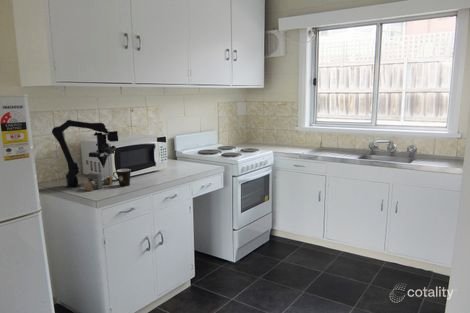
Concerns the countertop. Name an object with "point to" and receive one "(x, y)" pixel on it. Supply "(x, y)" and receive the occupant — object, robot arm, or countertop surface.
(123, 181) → the coffee mug
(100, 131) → the robot arm
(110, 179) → the metal shaft
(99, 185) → the collar
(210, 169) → the countertop surface
